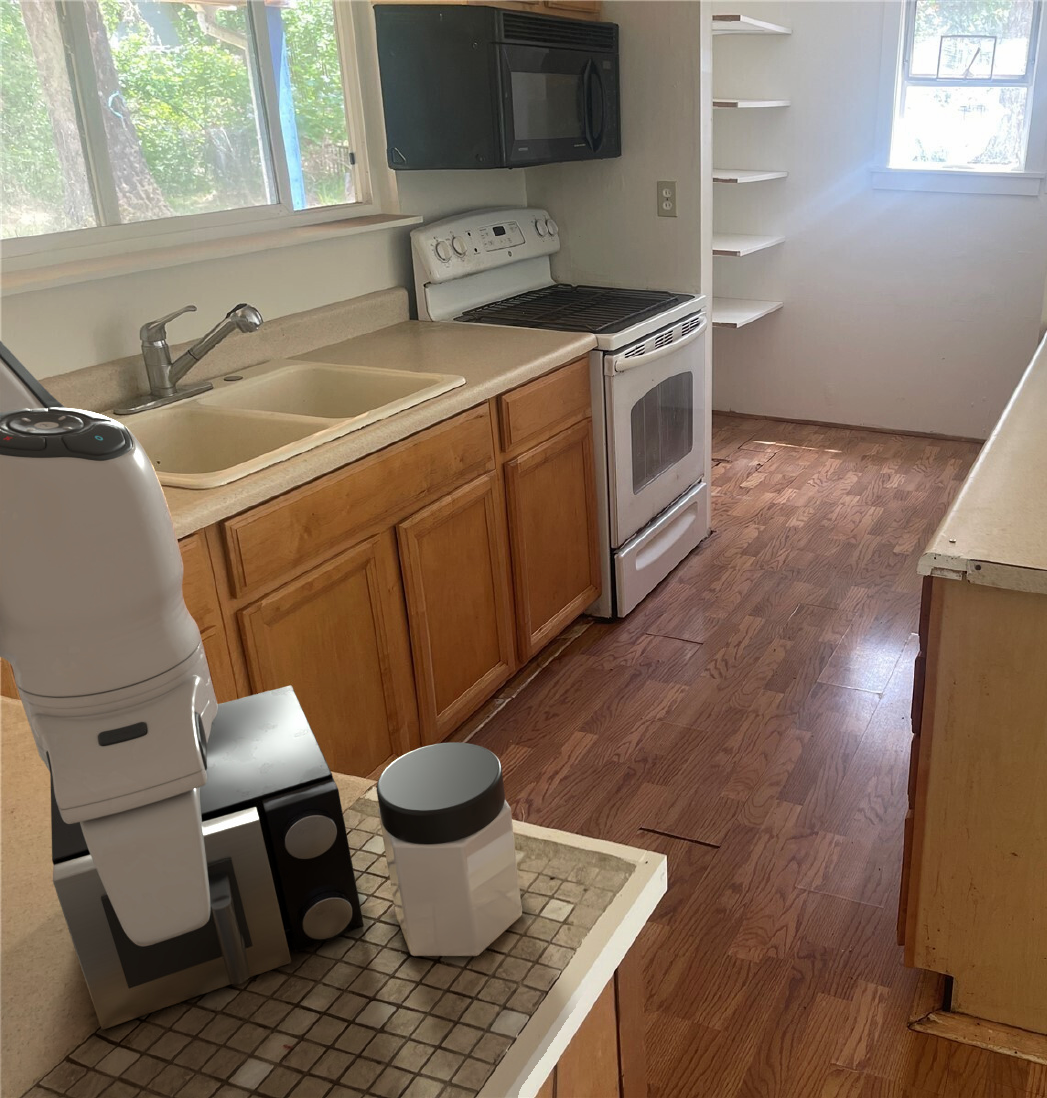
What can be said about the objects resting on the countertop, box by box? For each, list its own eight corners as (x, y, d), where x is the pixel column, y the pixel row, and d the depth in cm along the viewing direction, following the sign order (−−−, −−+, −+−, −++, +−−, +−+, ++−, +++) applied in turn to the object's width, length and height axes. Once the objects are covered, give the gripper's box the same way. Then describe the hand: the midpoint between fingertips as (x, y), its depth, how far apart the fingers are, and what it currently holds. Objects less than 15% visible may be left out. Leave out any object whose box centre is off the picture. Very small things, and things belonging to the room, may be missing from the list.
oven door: (300, 999, 66) (266, 852, 61) (101, 1073, 61) (49, 919, 56) (288, 947, 70) (256, 806, 66) (101, 1012, 65) (53, 864, 61)
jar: (533, 877, 77) (519, 740, 72) (510, 959, 69) (493, 812, 65) (413, 877, 77) (392, 740, 72) (378, 959, 69) (351, 812, 65)
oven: (367, 936, 71) (340, 792, 67) (103, 1038, 63) (52, 883, 59) (316, 812, 84) (291, 684, 79) (92, 884, 76) (49, 748, 72)
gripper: (60, 642, 64) (116, 826, 69) (54, 817, 47) (127, 1040, 52) (174, 618, 66) (219, 796, 72) (205, 775, 50) (259, 990, 55)
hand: (180, 901), depth 62 cm, fingers closed
